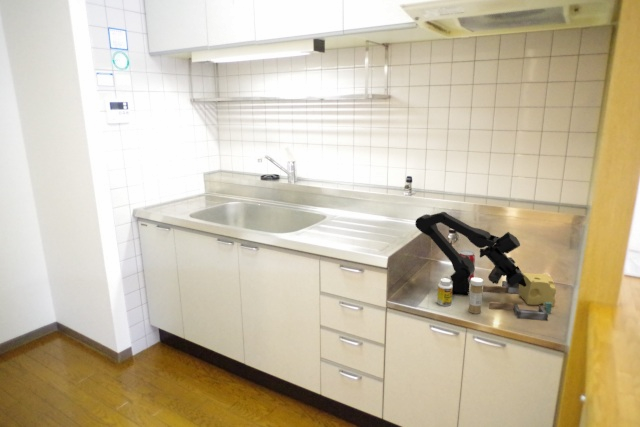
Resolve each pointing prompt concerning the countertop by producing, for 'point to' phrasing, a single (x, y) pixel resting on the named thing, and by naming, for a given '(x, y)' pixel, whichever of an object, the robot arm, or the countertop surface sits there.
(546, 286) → the cheese
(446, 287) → the supplement bottle
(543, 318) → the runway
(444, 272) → the countertop surface
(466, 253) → the soda can
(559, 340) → the countertop surface
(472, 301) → the sprinkles bottle
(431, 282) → the countertop surface
